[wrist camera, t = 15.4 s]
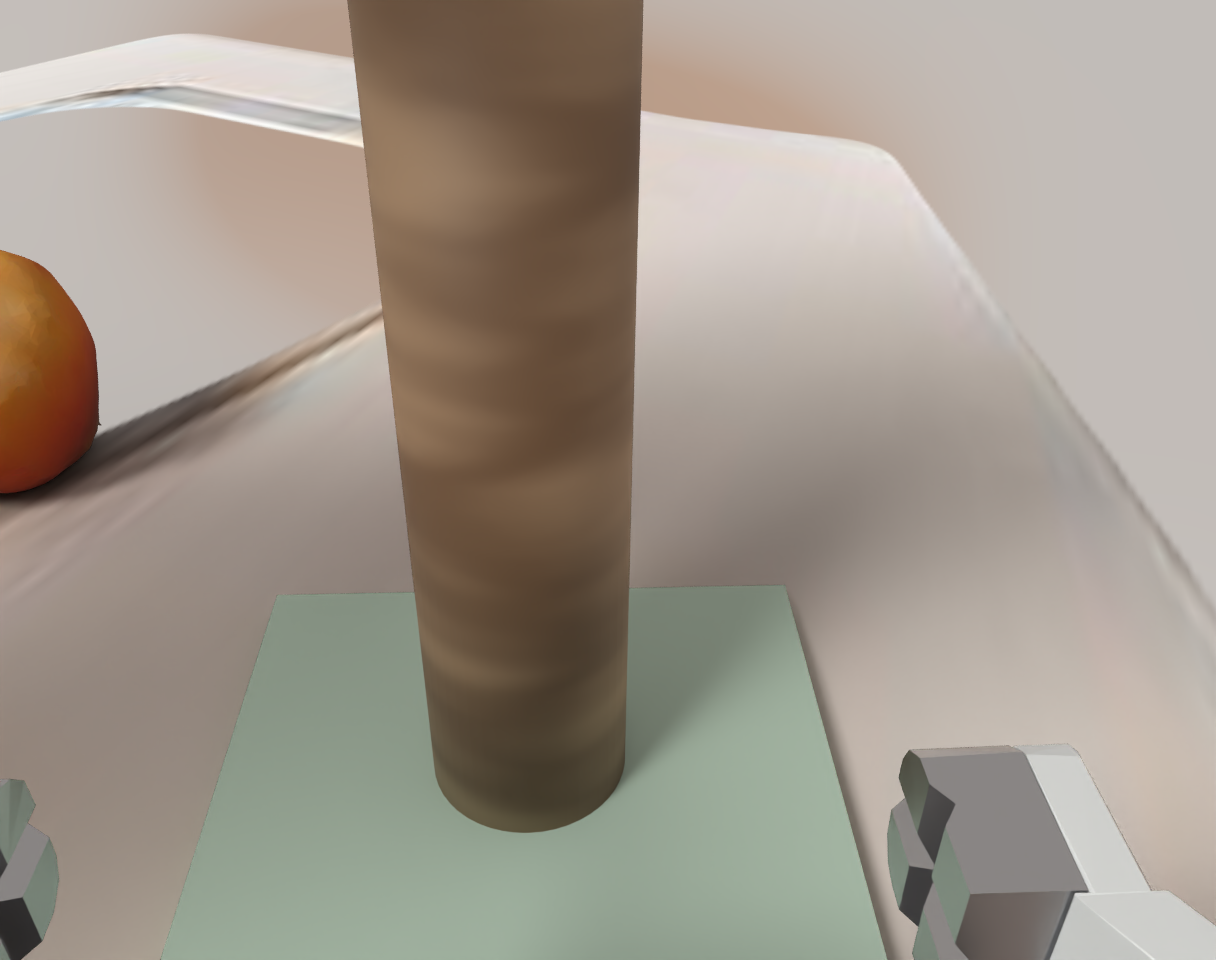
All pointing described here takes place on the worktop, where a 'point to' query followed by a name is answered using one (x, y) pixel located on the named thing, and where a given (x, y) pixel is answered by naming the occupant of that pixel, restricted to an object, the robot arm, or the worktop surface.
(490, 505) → the bottle
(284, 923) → the mat
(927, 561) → the worktop surface
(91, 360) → the fruit
